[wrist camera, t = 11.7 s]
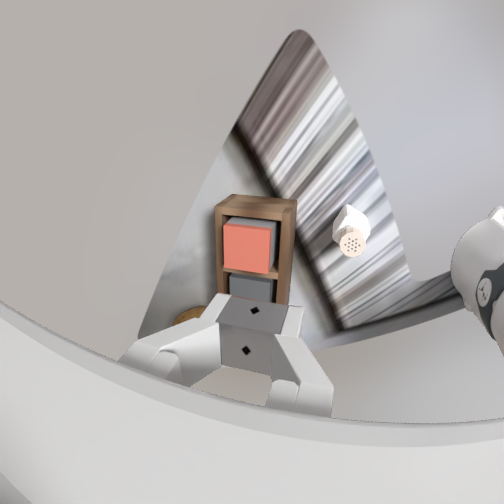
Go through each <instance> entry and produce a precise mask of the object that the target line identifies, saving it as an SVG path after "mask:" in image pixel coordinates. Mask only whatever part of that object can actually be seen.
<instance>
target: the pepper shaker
mask: <svg viewBox="0 0 504 504" xmlns="http://www.w3.org/2000/svg"><path fill="white" fill-rule="evenodd" d="M369 234H370V227H369V223H368V220H367V217H366V216H365V215H364V214H362V213H361V212H359V211H358V210H356V209H355V208H353V207H352V206H350V205H347V204H346V205H345V206H343V208H342V209H341V211H340V212H339V214H338V216H337V217H336V219H335V220H334V222H333V231H332V238H333V240H334V241H335V242H337V243H338V244H339V246H340V250H341V252H342V253H343V254H344V255H346V256H349V257H356V256H359V255H360V254H361V253H362V252H363V251H364V249H365V246H366V245H365V241H366V239H367V238H368V236H369Z"/></svg>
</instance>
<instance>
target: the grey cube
mask: <svg viewBox="0 0 504 504" xmlns="http://www.w3.org/2000/svg"><path fill="white" fill-rule="evenodd" d="M277 281H278V279H271V278H264V277H258V276H252V275H245V274H239V273H233V272H232V274H231V275H230V295H232V296H233V295H234V296H239V297H244V298H249V299H254V300H259V301H263V302H270V303H274V301H275V299H276V295H277Z"/></svg>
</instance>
